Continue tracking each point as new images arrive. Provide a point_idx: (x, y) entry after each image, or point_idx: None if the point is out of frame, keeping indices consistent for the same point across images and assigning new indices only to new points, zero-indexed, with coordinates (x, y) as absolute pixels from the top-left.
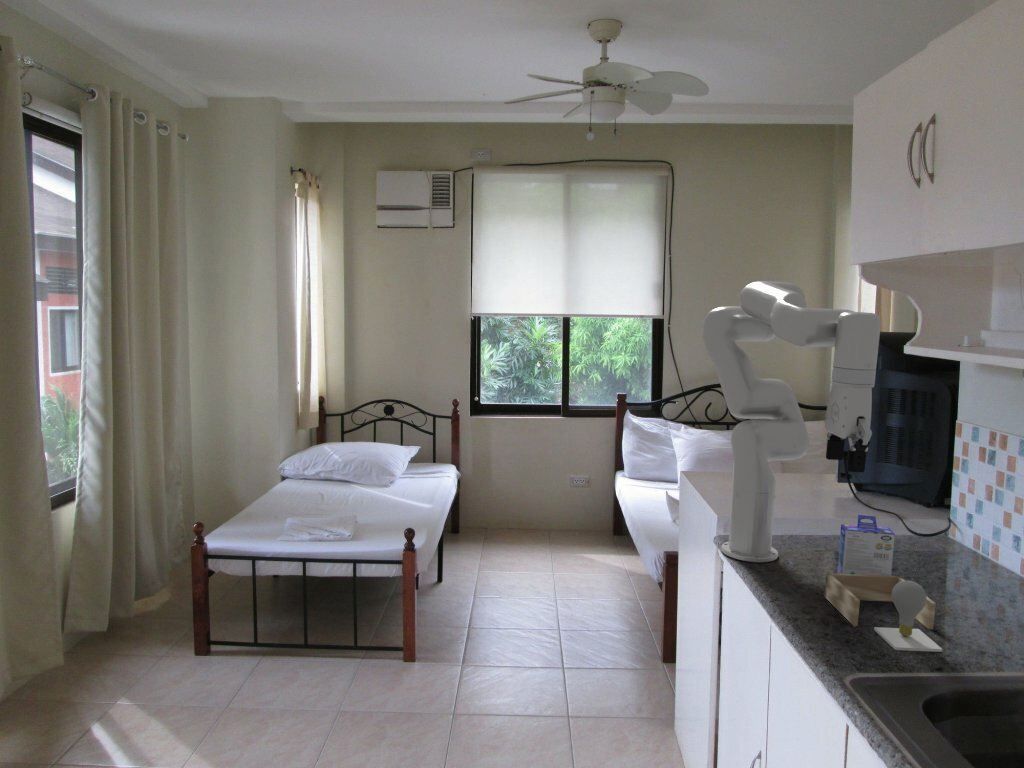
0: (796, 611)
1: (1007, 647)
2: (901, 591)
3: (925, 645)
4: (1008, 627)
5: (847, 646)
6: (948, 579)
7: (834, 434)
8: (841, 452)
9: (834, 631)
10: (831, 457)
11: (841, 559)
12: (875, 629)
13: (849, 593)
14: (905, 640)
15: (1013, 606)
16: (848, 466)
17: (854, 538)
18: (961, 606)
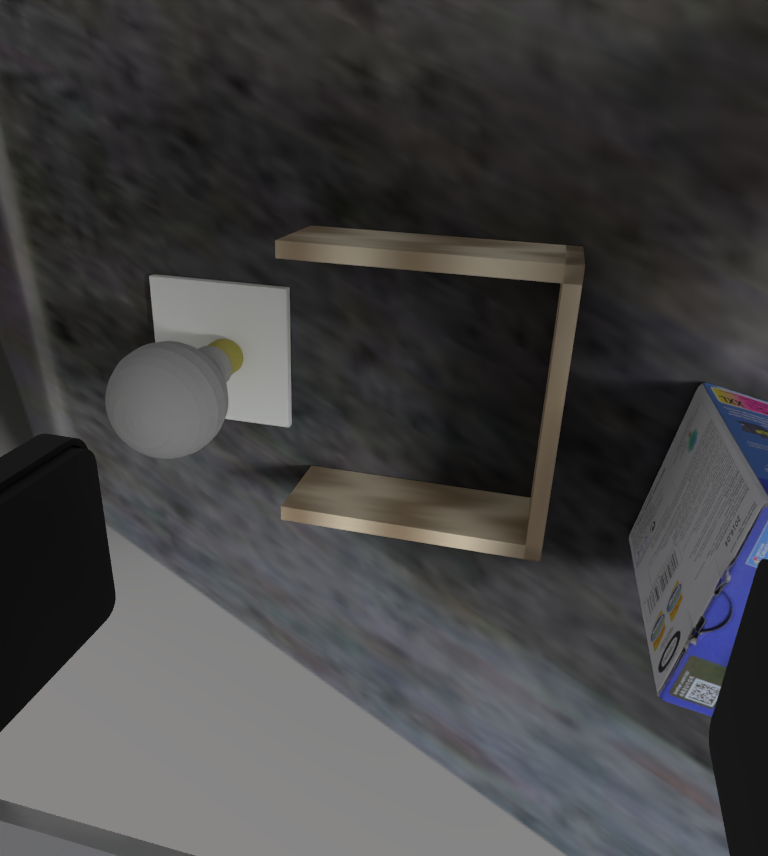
0: (438, 47)
1: (220, 590)
2: (122, 364)
3: None
4: (343, 680)
5: (154, 121)
6: None
7: (92, 831)
8: (732, 809)
9: (264, 130)
10: (757, 619)
11: (755, 432)
12: (278, 287)
13: (342, 251)
14: (201, 336)
15: (486, 793)
16: (9, 463)
17: (731, 519)
18: (487, 668)
